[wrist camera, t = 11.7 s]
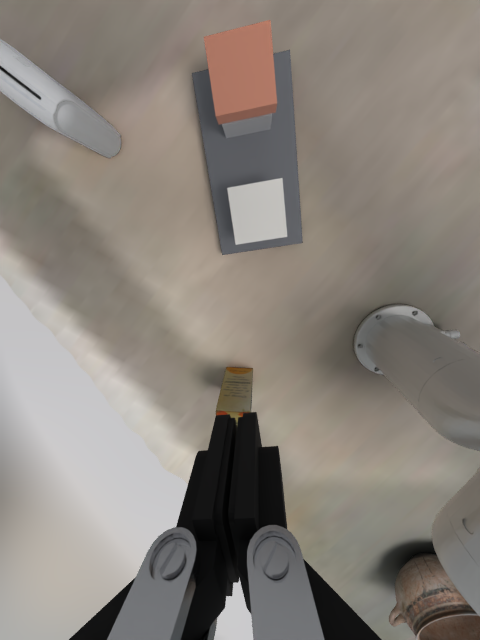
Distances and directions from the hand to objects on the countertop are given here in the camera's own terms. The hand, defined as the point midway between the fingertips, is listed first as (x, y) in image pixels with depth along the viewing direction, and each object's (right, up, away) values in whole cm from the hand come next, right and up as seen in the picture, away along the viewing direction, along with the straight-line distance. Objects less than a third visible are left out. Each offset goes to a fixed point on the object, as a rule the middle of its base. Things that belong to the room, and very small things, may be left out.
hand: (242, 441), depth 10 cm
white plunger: (+2, +20, +25) cm, 32 cm away
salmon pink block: (0, +32, +20) cm, 37 cm away
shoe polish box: (0, -6, +36) cm, 37 cm away
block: (+2, +27, +25) cm, 36 cm away
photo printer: (-21, +33, +25) cm, 46 cm away
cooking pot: (+44, -53, +49) cm, 85 cm away
